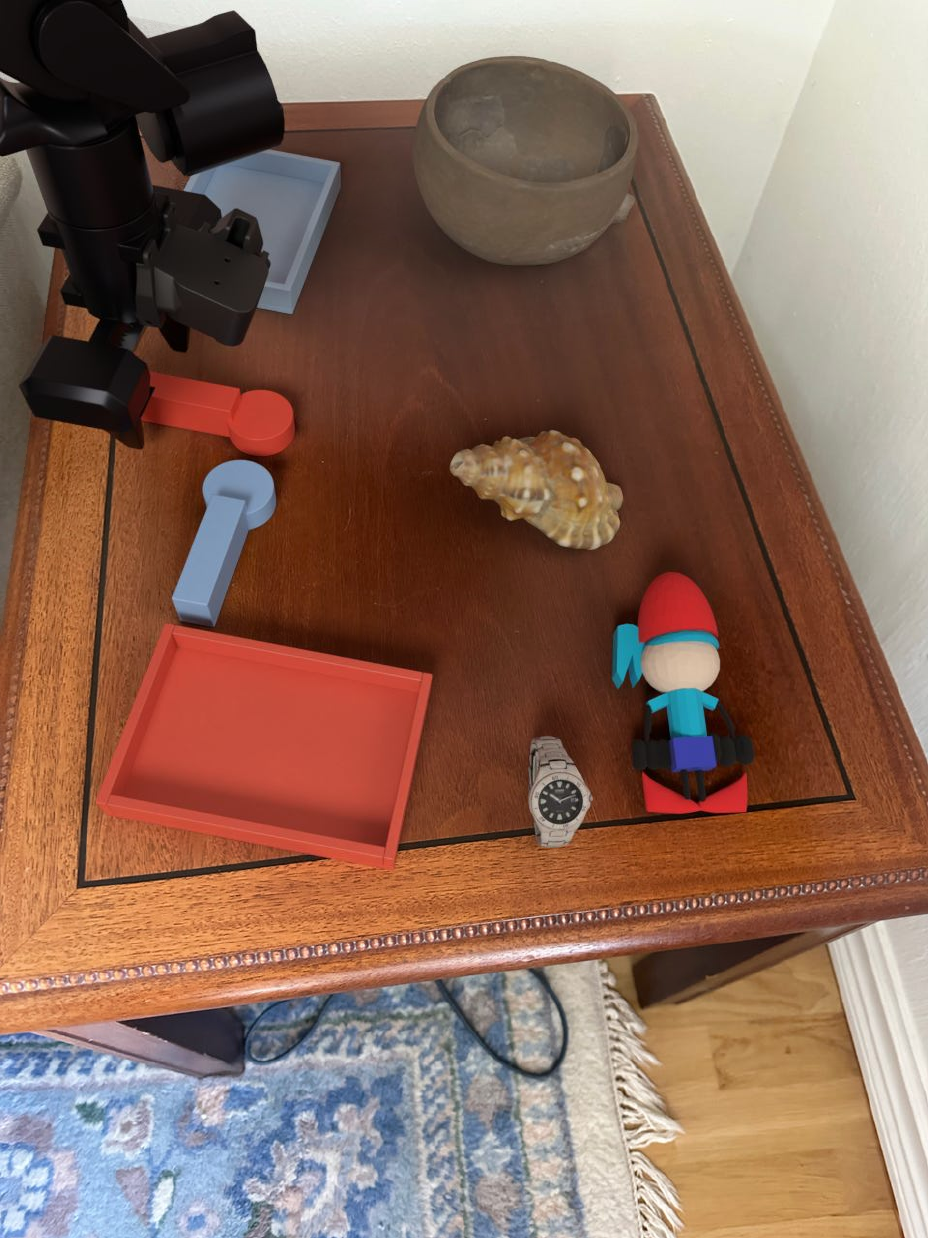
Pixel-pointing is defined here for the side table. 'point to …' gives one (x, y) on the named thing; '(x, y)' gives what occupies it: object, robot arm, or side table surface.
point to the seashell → (545, 487)
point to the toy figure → (680, 695)
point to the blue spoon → (222, 537)
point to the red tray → (270, 746)
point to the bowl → (524, 159)
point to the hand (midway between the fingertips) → (159, 396)
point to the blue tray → (278, 212)
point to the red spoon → (223, 413)
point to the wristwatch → (555, 793)
